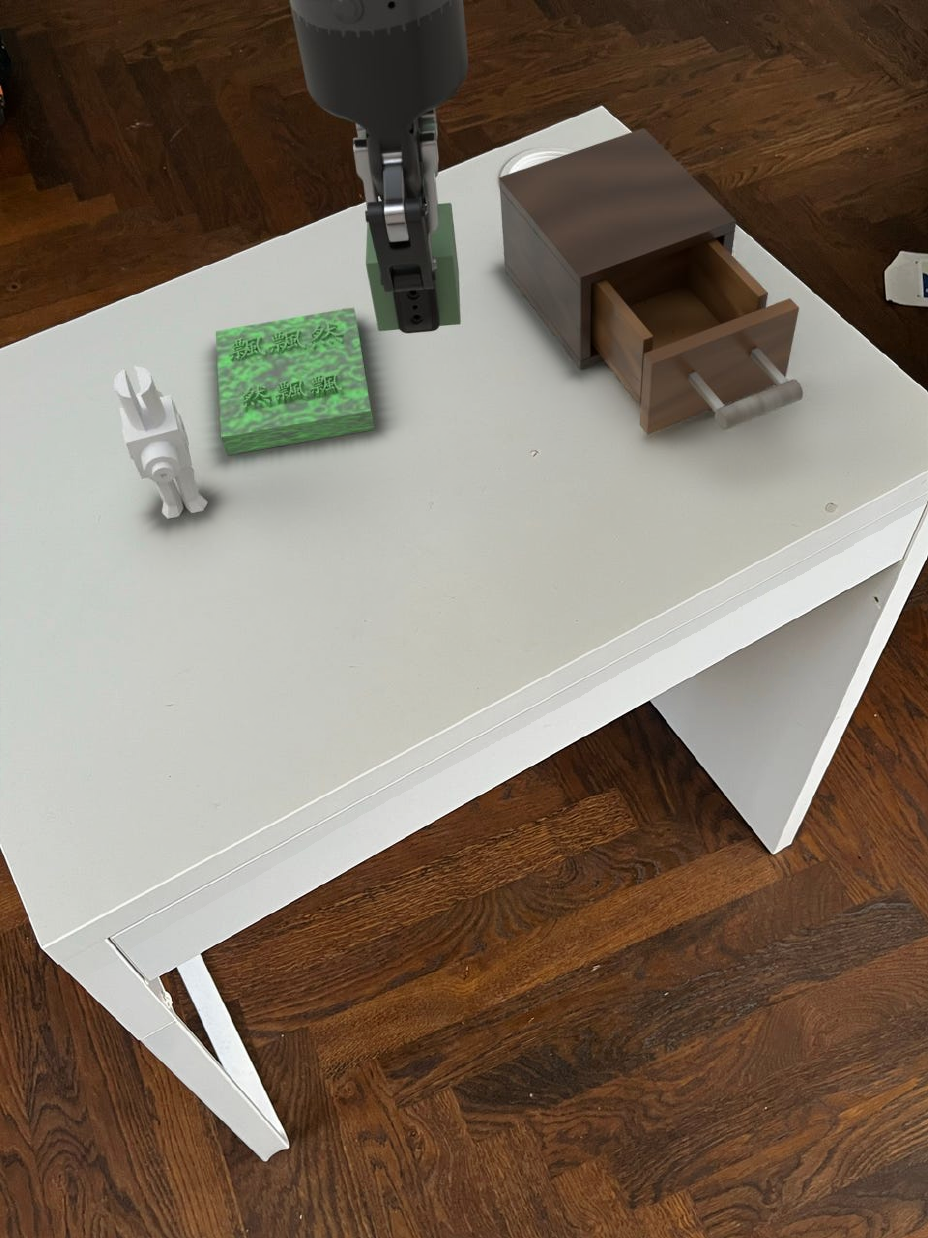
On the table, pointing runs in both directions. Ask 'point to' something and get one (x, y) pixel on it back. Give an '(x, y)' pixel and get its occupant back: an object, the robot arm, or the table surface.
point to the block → (444, 273)
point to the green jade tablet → (292, 381)
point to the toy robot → (158, 442)
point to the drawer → (695, 338)
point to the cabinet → (599, 226)
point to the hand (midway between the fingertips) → (419, 295)
